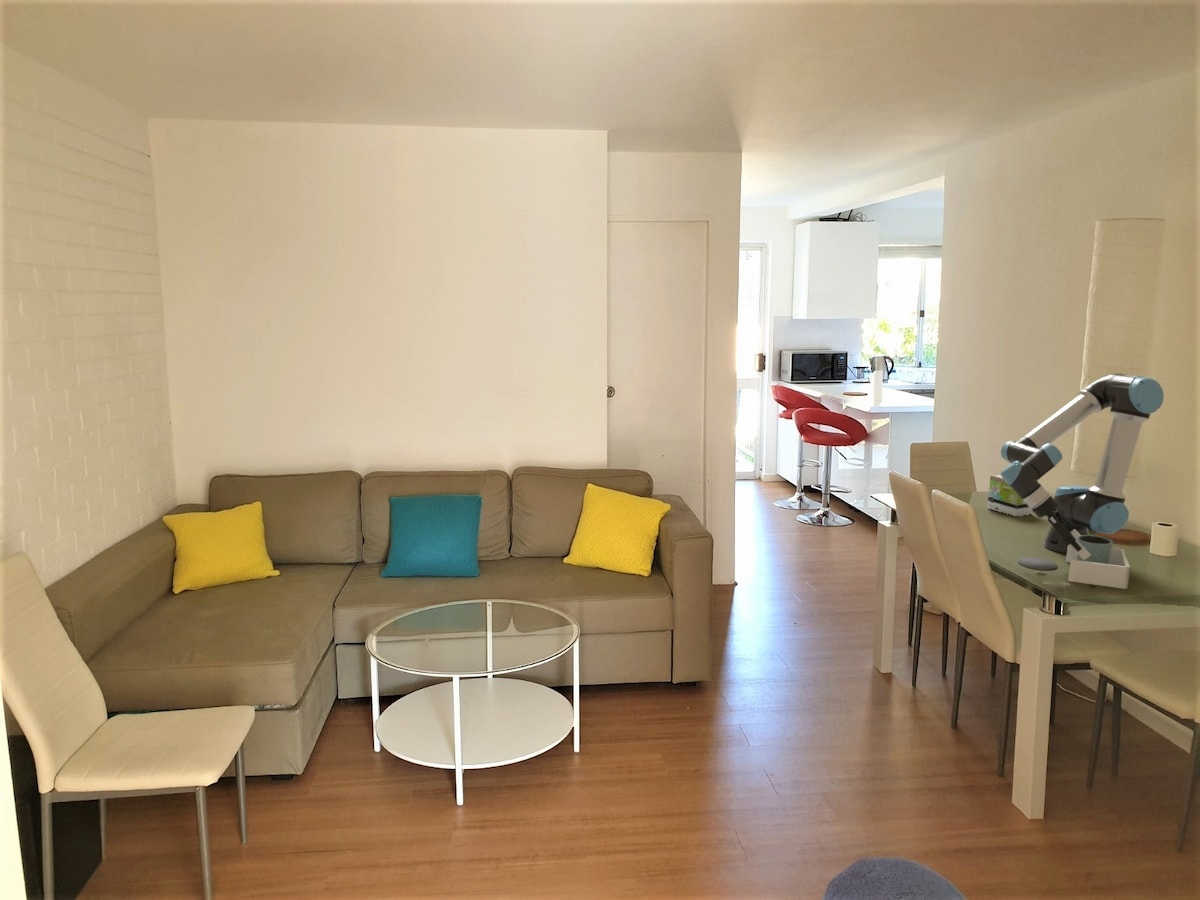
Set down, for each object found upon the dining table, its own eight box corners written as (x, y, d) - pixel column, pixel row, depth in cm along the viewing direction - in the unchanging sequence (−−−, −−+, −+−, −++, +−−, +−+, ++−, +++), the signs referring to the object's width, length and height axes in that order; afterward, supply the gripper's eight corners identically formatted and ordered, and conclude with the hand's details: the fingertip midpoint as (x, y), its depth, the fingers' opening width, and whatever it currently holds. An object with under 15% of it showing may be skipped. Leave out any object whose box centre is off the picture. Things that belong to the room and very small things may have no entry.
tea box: (986, 509, 373) (989, 475, 370) (1003, 506, 377) (1006, 473, 375) (1016, 517, 360) (1019, 482, 357) (1033, 515, 364) (1036, 480, 361)
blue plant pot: (1100, 569, 294) (1104, 535, 292) (1114, 579, 284) (1118, 544, 282) (1068, 568, 295) (1072, 534, 293) (1081, 578, 285) (1085, 543, 283)
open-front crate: (1065, 561, 303) (1068, 541, 301) (1120, 568, 296) (1123, 548, 294) (1068, 581, 282) (1071, 560, 281) (1127, 589, 275) (1130, 567, 274)
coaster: (1018, 557, 307) (1018, 555, 307) (1056, 562, 302) (1056, 560, 302) (1017, 566, 296) (1017, 565, 296) (1057, 572, 291) (1057, 570, 291)
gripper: (1031, 500, 305) (1074, 548, 301) (1030, 517, 283) (1077, 569, 279) (1049, 487, 301) (1094, 535, 298) (1050, 503, 279) (1098, 555, 276)
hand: (1086, 552), depth 288 cm, fingers open, 13 cm apart
